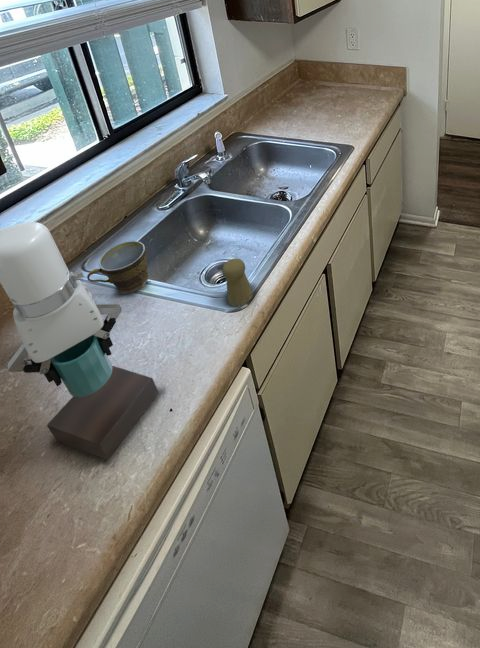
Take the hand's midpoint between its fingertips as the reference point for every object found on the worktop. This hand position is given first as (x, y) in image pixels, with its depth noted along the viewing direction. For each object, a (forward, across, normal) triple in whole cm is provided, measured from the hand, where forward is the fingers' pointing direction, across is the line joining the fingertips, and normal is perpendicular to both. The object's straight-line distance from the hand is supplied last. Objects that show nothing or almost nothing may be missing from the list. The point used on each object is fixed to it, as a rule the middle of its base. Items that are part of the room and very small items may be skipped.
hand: (83, 363), depth 77 cm
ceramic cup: (+16, -11, -32) cm, 38 cm away
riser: (+16, 0, 0) cm, 16 cm away
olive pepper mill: (+16, -31, -9) cm, 36 cm away
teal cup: (+4, 0, 0) cm, 4 cm away
